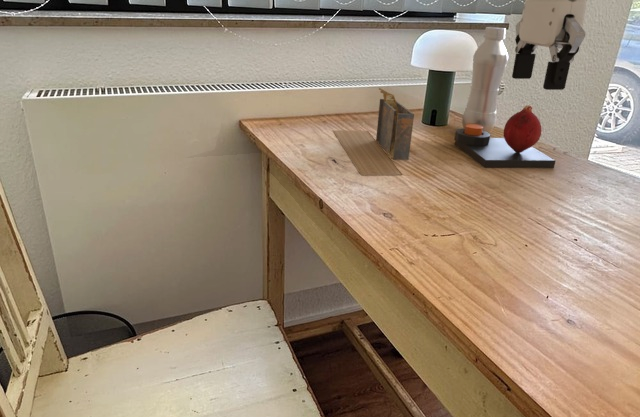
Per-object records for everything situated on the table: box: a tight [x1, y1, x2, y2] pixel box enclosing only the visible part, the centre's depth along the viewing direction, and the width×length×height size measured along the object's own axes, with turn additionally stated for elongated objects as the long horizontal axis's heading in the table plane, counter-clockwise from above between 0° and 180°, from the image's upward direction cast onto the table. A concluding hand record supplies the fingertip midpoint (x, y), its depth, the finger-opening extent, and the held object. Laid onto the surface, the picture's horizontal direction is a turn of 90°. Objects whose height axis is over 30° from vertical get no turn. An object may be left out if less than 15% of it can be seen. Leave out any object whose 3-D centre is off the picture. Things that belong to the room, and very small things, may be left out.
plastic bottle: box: [461, 26, 509, 134], centre depth 95 cm, size 6×7×20 cm
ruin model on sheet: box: [332, 87, 415, 176], centre depth 84 cm, size 25×16×10 cm, turn 8°
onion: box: [503, 104, 542, 153], centre depth 81 cm, size 6×6×8 cm
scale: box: [453, 127, 556, 169], centre depth 85 cm, size 13×14×3 cm
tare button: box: [464, 124, 483, 136], centre depth 87 cm, size 3×3×2 cm
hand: (536, 83), depth 78 cm, fingers open, 9 cm apart
